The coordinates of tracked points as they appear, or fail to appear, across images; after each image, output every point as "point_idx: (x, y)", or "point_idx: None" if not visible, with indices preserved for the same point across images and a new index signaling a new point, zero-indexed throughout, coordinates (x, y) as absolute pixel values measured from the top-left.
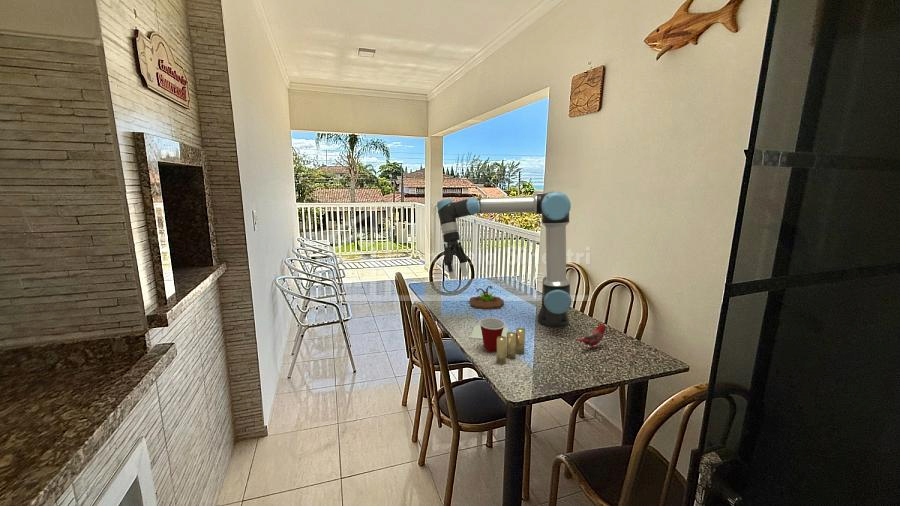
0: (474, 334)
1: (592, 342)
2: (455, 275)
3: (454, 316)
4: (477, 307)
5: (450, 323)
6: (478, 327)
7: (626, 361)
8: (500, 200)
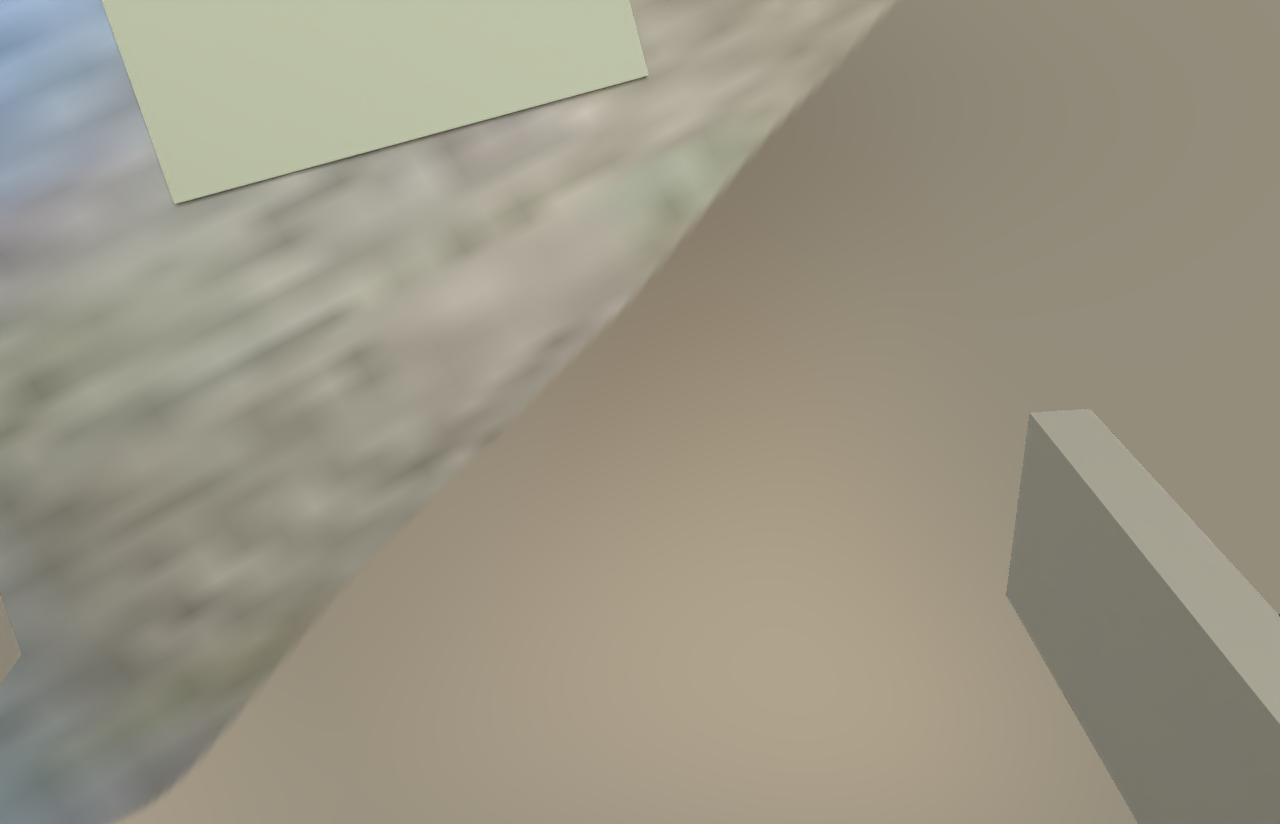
0: (525, 61)
1: None
2: (1087, 465)
3: None
4: None
5: (308, 560)
6: (259, 116)
7: None
8: None
